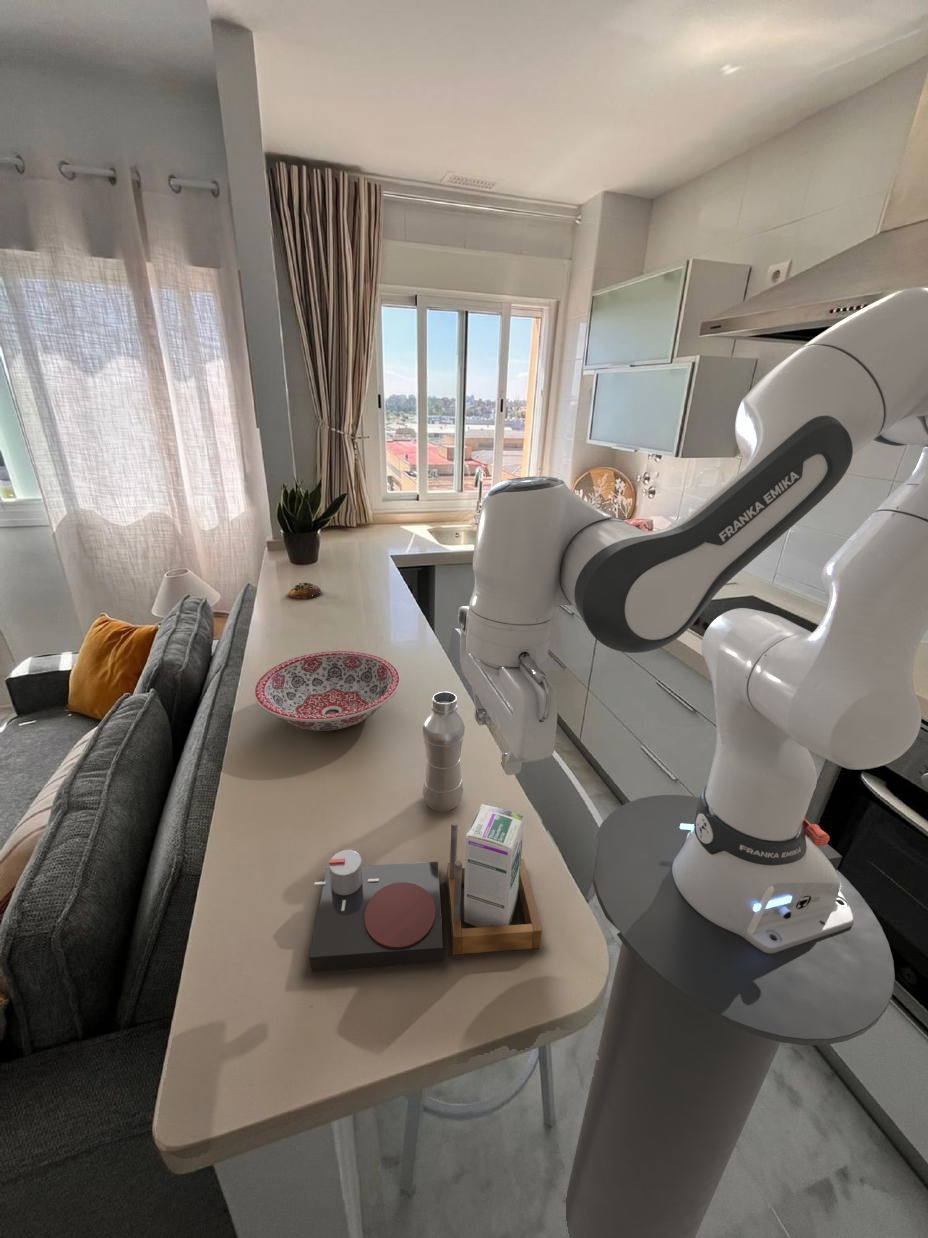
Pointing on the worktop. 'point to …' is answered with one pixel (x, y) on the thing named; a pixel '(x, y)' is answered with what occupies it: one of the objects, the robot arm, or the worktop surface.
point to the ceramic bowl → (327, 689)
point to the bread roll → (304, 591)
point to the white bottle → (443, 753)
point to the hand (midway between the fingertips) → (495, 744)
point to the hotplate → (399, 915)
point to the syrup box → (492, 867)
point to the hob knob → (345, 872)
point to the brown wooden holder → (497, 935)
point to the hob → (344, 926)
